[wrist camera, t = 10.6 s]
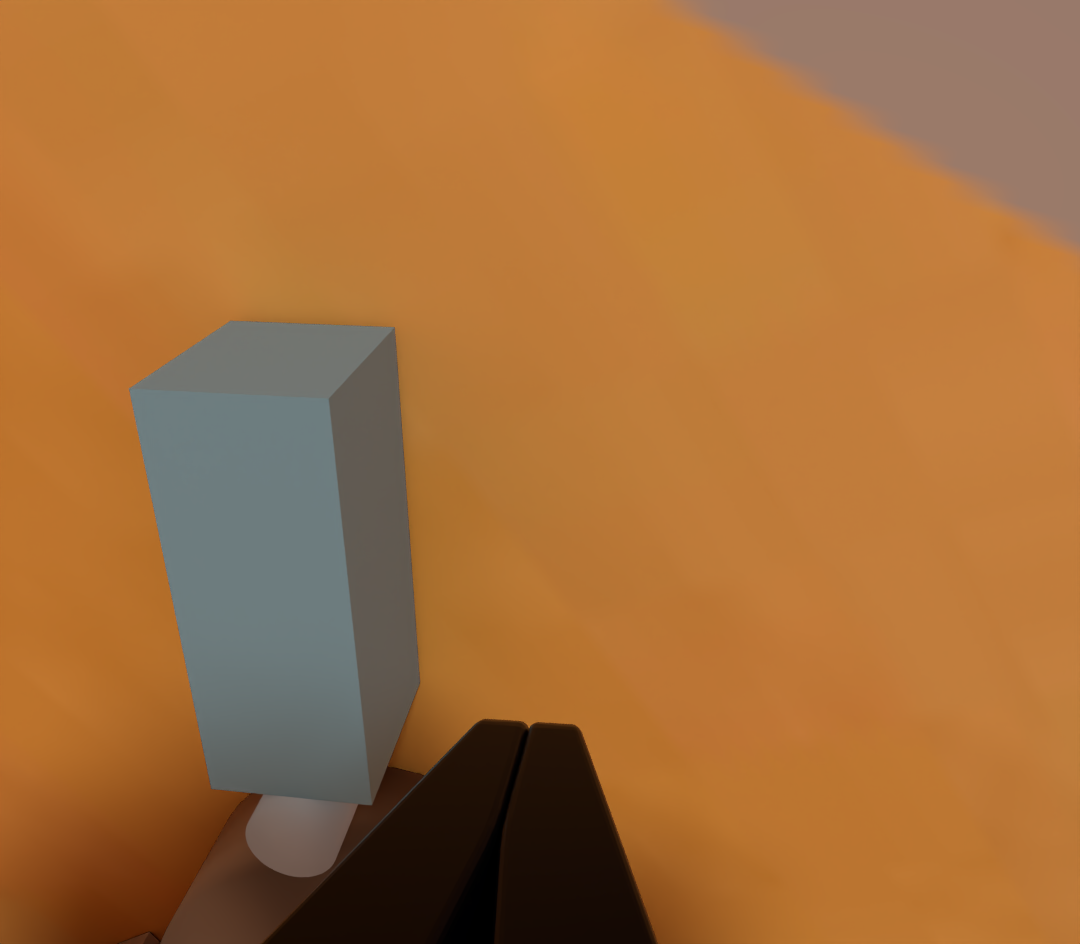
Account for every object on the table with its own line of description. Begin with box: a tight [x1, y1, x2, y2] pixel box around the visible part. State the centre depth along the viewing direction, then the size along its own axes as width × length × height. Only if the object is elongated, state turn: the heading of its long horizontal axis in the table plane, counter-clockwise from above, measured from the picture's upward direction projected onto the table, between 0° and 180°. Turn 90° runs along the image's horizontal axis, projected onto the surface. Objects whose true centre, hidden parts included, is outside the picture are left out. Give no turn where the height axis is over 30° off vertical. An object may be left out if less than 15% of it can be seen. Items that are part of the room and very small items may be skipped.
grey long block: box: [129, 321, 420, 877], centre depth 20 cm, size 11×4×4 cm, turn 0°
